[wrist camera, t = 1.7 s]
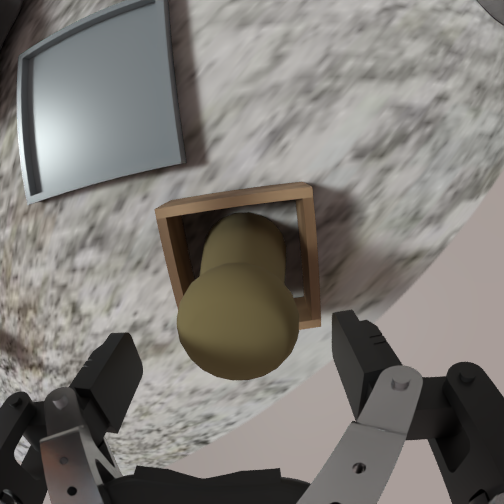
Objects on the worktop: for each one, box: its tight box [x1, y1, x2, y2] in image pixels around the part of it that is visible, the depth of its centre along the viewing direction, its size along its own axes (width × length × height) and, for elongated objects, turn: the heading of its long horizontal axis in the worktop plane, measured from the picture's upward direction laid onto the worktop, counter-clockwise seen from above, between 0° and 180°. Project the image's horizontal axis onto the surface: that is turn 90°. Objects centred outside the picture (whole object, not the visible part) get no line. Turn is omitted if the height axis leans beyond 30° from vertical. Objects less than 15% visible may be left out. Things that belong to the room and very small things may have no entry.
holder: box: [155, 182, 321, 330], centre depth 19 cm, size 9×9×4 cm
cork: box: [177, 212, 299, 380], centre depth 16 cm, size 6×6×11 cm
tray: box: [17, 0, 187, 205], centre depth 16 cm, size 14×14×2 cm
